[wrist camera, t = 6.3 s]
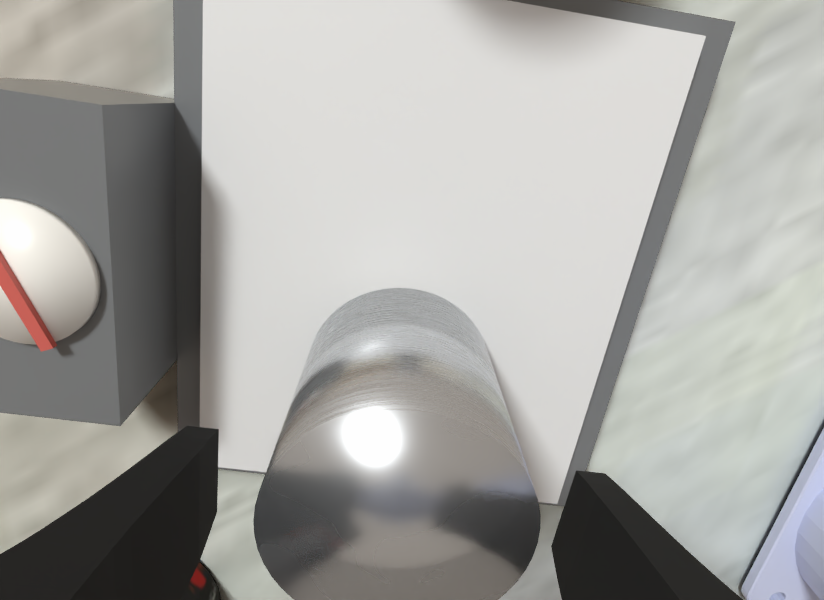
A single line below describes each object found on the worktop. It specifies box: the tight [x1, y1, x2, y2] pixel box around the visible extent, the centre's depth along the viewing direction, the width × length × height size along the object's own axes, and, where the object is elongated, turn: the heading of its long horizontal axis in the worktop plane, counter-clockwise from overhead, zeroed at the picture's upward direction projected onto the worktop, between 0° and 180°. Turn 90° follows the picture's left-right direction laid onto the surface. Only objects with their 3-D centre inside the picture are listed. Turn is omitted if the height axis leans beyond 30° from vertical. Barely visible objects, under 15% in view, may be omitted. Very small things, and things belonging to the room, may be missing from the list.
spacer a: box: [254, 288, 540, 600], centre depth 10 cm, size 4×4×5 cm
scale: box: [0, 0, 735, 506], centre depth 11 cm, size 14×12×4 cm
